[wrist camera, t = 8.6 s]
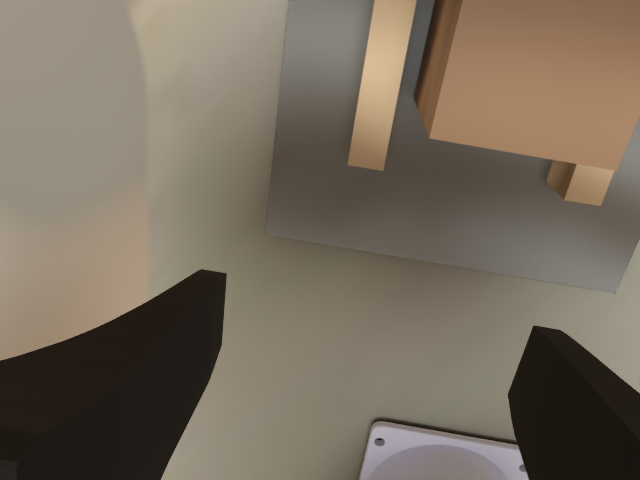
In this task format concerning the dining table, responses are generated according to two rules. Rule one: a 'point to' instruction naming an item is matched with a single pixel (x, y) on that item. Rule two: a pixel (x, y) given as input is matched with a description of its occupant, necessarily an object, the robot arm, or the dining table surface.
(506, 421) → the dining table surface
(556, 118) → the cabinet block
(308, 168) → the cradle
